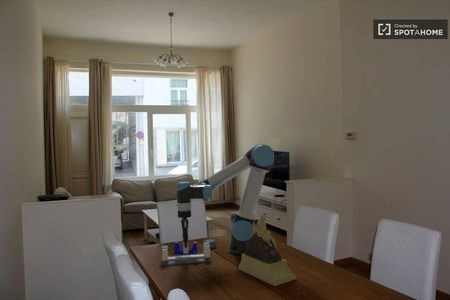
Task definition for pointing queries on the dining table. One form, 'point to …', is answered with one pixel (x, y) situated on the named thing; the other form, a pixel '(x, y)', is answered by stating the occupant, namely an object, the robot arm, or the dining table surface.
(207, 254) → the mounted modules
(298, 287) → the dining table surface
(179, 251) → the cable clip
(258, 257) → the yellow and brown statuette
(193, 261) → the rail
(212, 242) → the block
